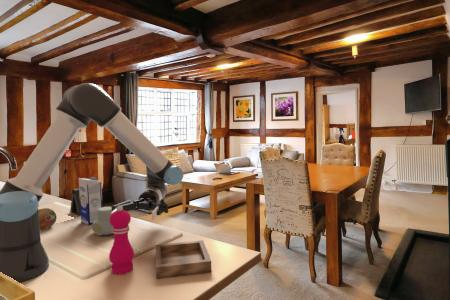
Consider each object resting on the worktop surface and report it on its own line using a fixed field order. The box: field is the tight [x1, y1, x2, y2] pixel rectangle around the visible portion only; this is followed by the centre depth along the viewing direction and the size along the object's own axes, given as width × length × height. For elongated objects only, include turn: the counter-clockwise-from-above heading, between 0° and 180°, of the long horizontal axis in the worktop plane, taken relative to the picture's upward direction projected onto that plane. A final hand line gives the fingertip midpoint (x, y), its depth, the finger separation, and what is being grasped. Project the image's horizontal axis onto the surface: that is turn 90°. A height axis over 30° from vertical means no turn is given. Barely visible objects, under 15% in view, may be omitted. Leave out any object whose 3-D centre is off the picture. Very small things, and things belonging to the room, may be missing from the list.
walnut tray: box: [155, 240, 212, 279], centre depth 100 cm, size 16×16×4 cm
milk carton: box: [78, 176, 104, 227], centre depth 138 cm, size 7×7×20 cm
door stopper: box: [69, 187, 81, 217], centre depth 152 cm, size 9×6×12 cm, turn 52°
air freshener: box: [91, 206, 114, 237], centre depth 126 cm, size 11×8×10 cm
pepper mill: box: [108, 206, 135, 275], centre depth 95 cm, size 7×7×20 cm
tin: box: [38, 207, 57, 231], centre depth 130 cm, size 15×3×8 cm, turn 126°
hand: (132, 216), depth 105 cm, fingers open, 13 cm apart
